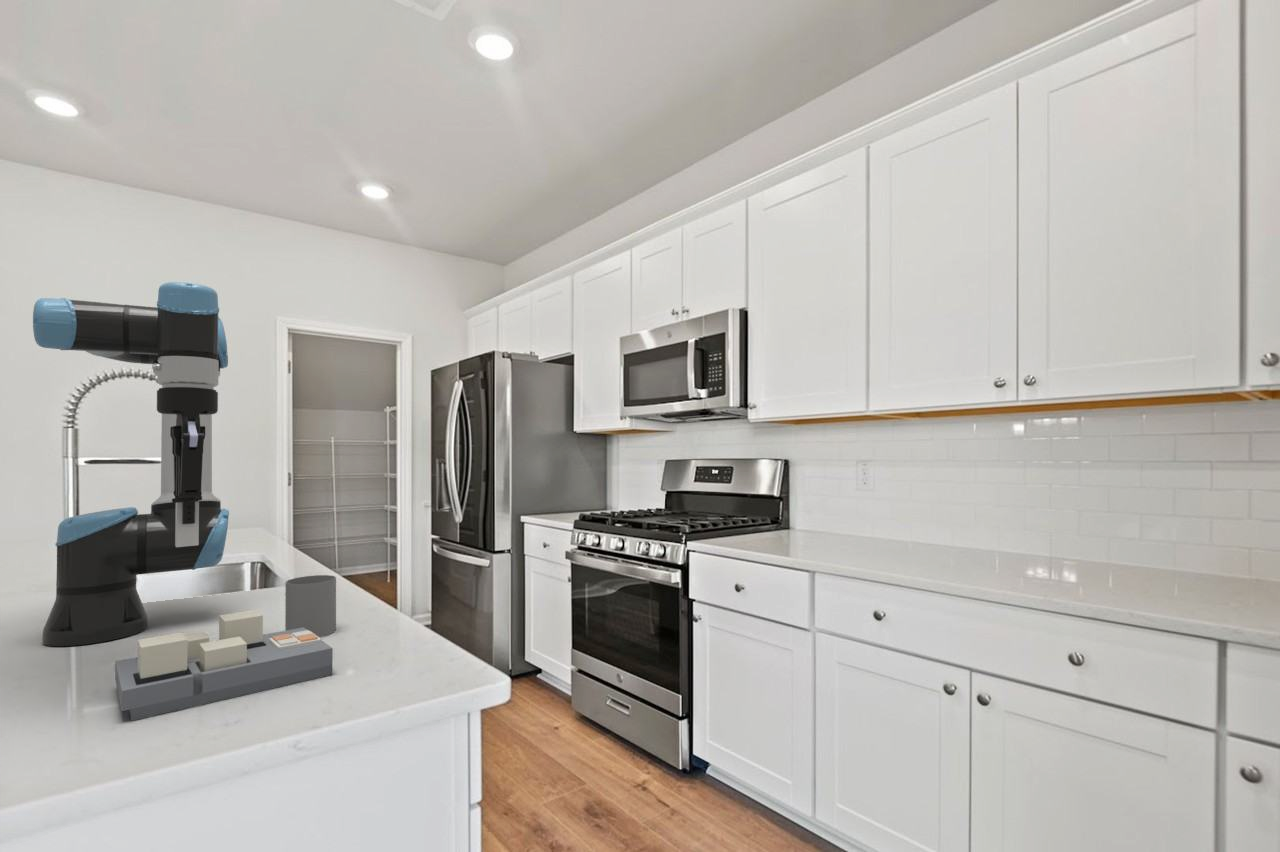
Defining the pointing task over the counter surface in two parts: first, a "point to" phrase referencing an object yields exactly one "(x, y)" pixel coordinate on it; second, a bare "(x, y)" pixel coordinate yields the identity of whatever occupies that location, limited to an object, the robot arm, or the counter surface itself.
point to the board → (225, 675)
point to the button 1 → (162, 655)
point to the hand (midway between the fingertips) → (187, 545)
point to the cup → (311, 604)
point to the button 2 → (195, 643)
